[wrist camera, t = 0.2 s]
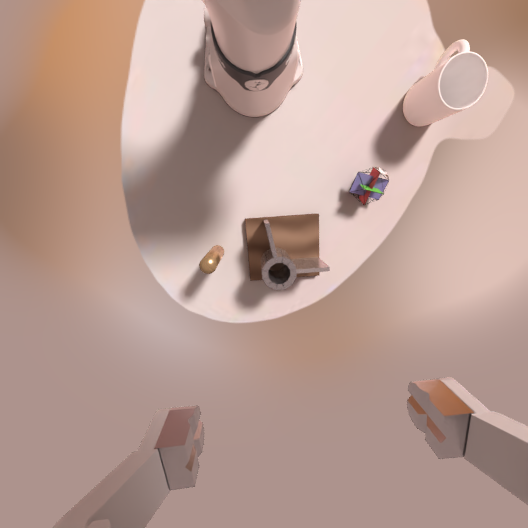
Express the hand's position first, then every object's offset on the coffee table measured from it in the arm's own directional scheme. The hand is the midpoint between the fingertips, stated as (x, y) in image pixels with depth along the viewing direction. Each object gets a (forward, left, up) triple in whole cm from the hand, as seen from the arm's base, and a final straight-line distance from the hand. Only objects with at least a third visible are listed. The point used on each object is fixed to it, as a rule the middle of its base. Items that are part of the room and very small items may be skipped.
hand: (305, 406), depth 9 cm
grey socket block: (+3, +6, -46) cm, 46 cm away
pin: (+3, -11, -47) cm, 48 cm away
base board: (+3, +4, -47) cm, 47 cm away
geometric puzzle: (-9, +22, -47) cm, 53 cm away
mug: (-26, +34, -47) cm, 64 cm away
